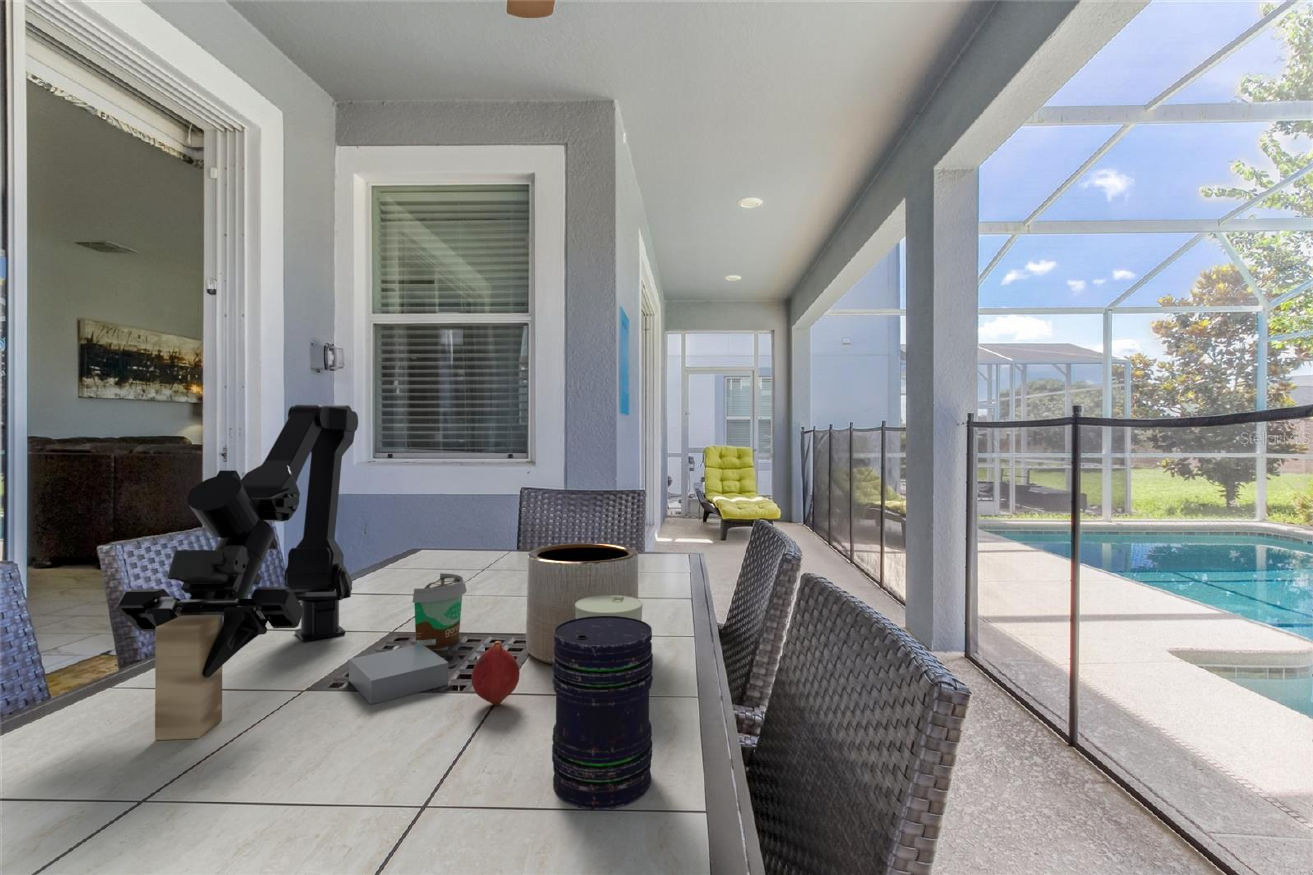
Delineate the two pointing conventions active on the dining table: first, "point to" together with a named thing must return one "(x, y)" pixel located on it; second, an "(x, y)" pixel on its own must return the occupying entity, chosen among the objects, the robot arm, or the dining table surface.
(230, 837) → the dining table surface
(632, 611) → the can
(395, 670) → the plate
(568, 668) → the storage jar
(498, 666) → the onion
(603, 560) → the planter
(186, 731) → the oak block
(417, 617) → the food container
